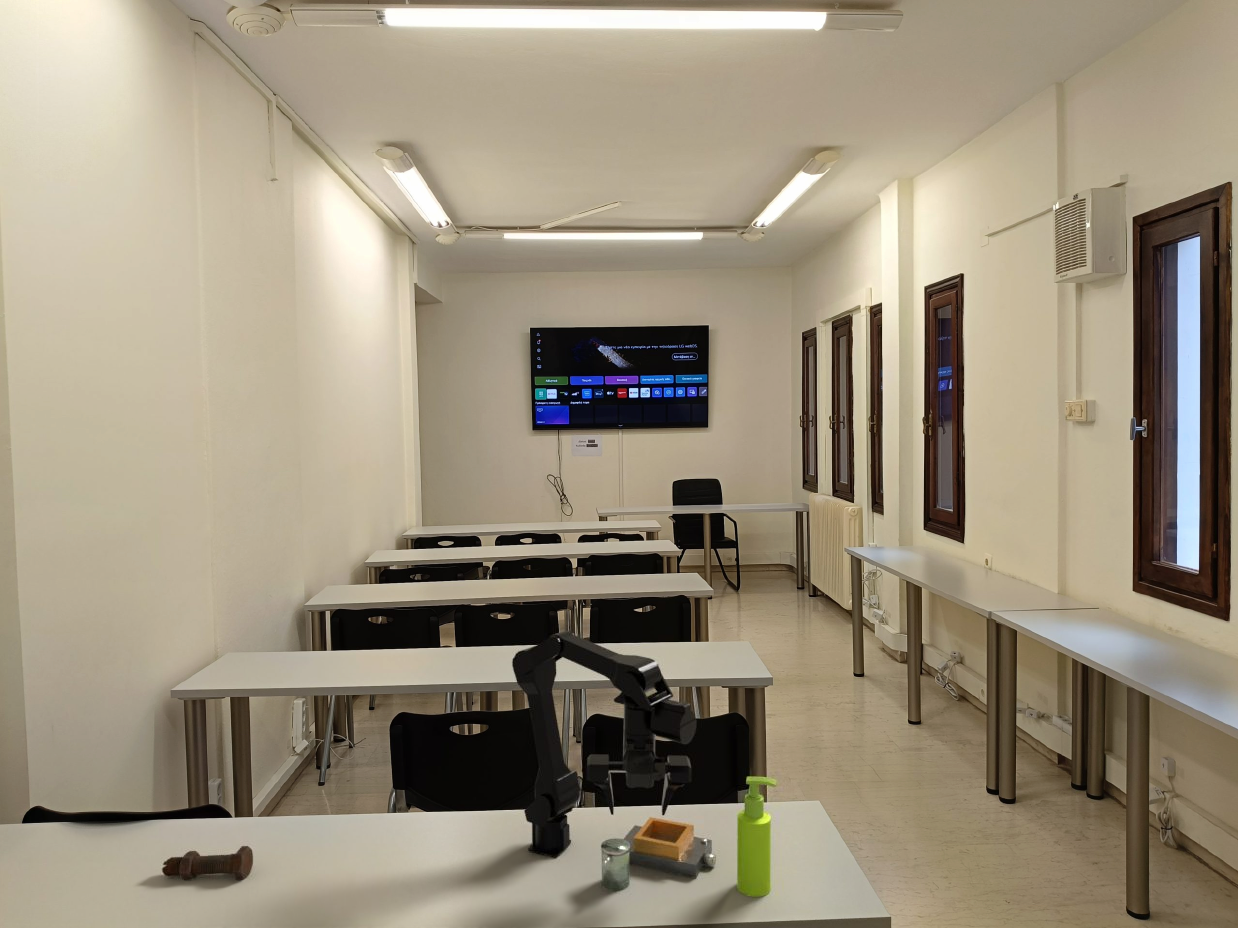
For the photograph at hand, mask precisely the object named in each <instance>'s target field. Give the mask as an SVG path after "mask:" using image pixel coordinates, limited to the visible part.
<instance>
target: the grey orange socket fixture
mask: <svg viewBox="0 0 1238 928" xmlns="http://www.w3.org/2000/svg"><path fill="white" fill-rule="evenodd" d="M694 827H695V826H694V824H689V823H682V822H678V821H674V820H668V819H662V818H656V817H652V816H651V817H650V816H649V818H648V820H647V821H646V822H645V823H644V825H641V826H640V825H634V826H633V827H632V828H631V829H630V830H629V832H628V833H627V834H626V835H625V836H624V837H623V838H622V839H623V840H626V841H627V842H629V844H630V850H629V865H632V866H637V867H641V868H646V869H651V870H655V871H660V872H664V873H669V874H674V875H678V874H679V875H678V876H684V877H687V876H688V877H687V878H692V877H693V878H692V879H697V878H698V876H699V875H700V873H701V871H702V869H703V868H704V866H709V867H715V866H716V862H717V855H716V854H712V853H713V847H712V846H713V841H712V839H708V838H705V837H704V838H703V837H698V836H695V835H694V834H695V832H694V830H695V828H694ZM698 874H699V875H698Z"/></svg>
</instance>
